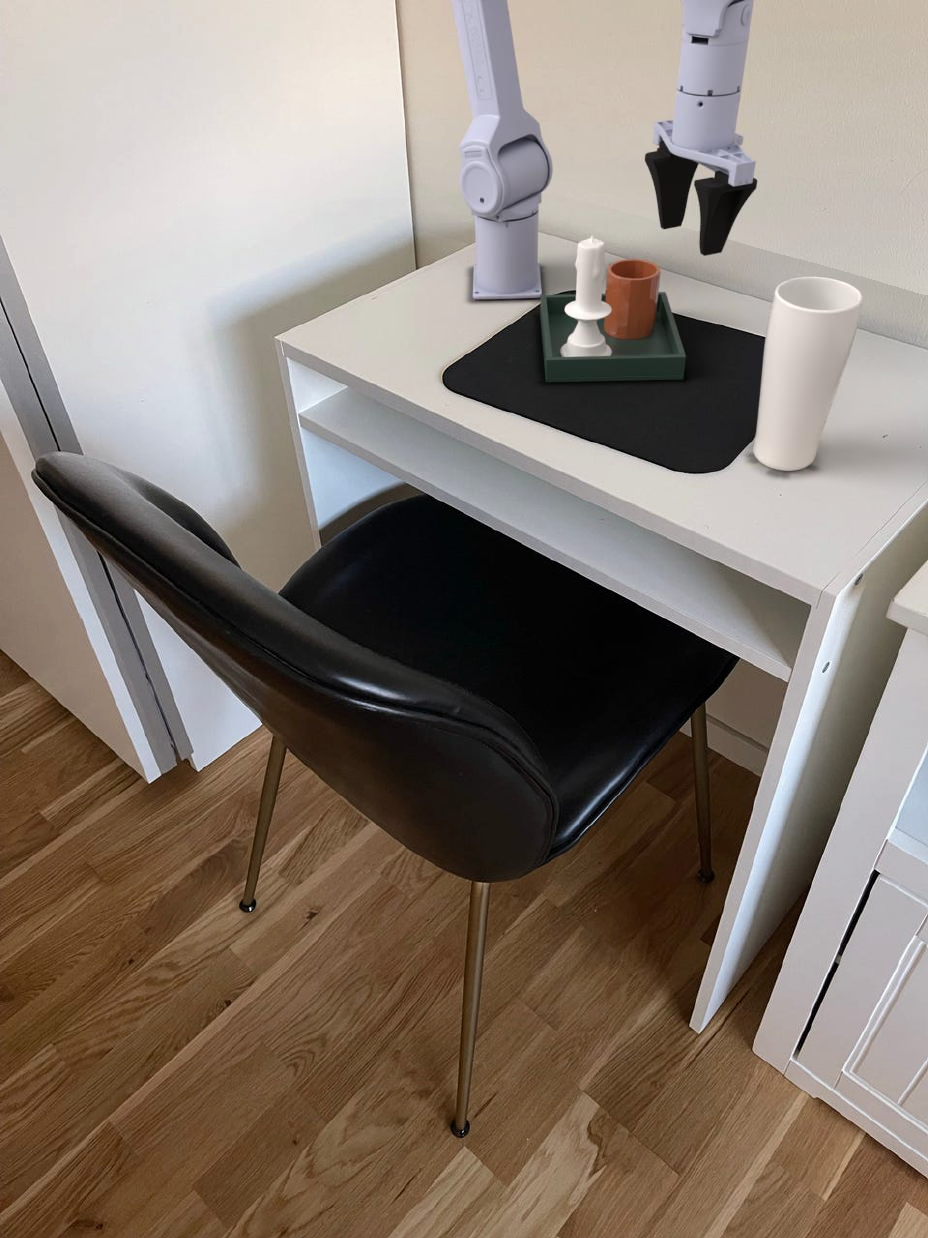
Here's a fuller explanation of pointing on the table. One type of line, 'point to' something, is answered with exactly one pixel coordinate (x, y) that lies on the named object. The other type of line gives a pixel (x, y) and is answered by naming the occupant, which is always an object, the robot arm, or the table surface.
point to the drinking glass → (803, 367)
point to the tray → (629, 357)
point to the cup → (631, 298)
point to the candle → (588, 303)
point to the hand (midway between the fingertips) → (690, 239)
